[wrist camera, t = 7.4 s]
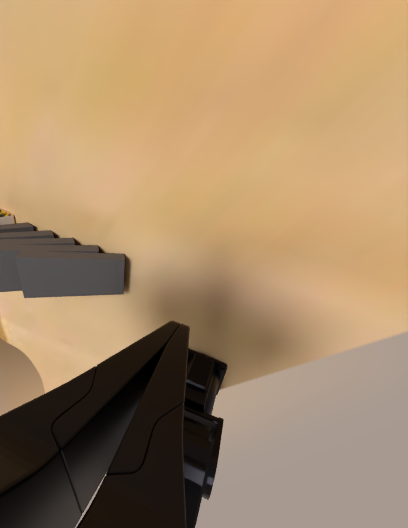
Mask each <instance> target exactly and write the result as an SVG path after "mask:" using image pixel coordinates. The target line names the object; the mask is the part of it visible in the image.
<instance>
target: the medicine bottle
mask: <svg viewBox="0 0 408 528" xmlns="http://www.w3.org/2000/svg"><path fill="white" fill-rule="evenodd" d="M5 224H15V221H14V215H13V214H11V213H9V212H6V211H4V210H2V209H0V225H5Z"/></svg>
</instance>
